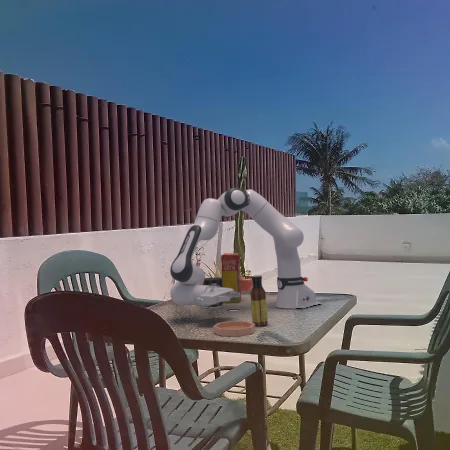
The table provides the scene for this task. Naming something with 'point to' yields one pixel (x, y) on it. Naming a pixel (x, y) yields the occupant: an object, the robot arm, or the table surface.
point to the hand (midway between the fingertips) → (234, 296)
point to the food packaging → (231, 274)
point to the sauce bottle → (258, 302)
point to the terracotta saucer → (234, 328)
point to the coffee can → (213, 282)
